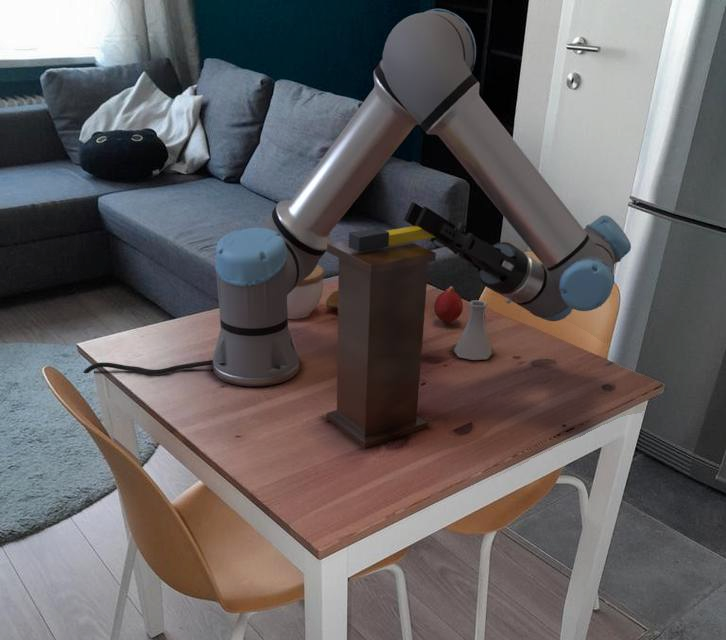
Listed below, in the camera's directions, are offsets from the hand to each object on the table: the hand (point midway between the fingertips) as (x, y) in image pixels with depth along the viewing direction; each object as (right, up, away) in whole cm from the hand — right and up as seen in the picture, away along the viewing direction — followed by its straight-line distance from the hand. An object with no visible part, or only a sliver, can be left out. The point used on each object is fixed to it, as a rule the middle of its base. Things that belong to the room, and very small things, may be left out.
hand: (415, 213), depth 112 cm
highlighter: (-2, -4, +1) cm, 4 cm away
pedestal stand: (-5, -28, +15) cm, 33 cm away
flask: (+13, -13, +39) cm, 44 cm away
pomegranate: (+10, -5, +51) cm, 52 cm away
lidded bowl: (-22, -2, +54) cm, 58 cm away
